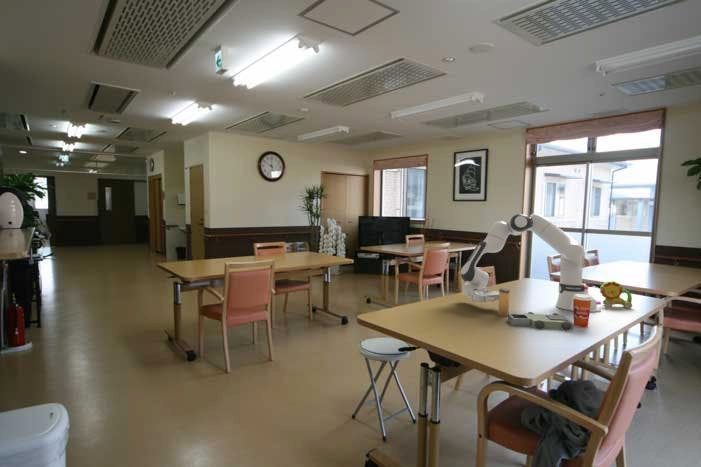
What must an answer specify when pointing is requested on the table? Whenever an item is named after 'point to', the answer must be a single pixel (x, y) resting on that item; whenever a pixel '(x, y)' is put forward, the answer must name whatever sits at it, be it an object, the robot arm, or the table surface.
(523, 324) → the box
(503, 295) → the orange and grey cylinder
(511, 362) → the table surface
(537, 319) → the toy wheeled cart
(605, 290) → the toy lion
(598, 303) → the bracket
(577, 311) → the coffee cup
